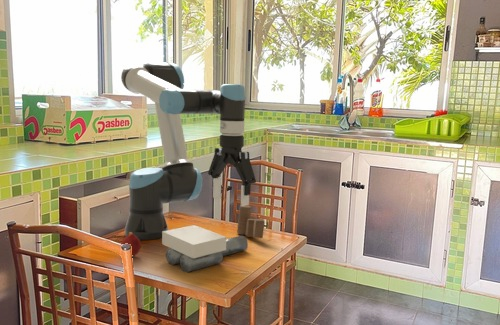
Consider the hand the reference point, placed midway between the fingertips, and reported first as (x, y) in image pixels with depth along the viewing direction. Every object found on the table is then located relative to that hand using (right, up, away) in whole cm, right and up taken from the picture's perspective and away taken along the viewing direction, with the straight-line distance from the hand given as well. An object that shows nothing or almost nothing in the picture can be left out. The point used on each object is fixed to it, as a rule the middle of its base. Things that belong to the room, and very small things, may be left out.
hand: (230, 201), depth 153 cm
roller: (-1, -17, +3) cm, 17 cm away
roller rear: (-14, -18, -4) cm, 23 cm away
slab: (-11, -13, -7) cm, 19 cm away
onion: (-31, -17, -3) cm, 35 cm away
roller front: (-8, -19, -10) cm, 23 cm away
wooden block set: (+6, -14, +23) cm, 28 cm away
